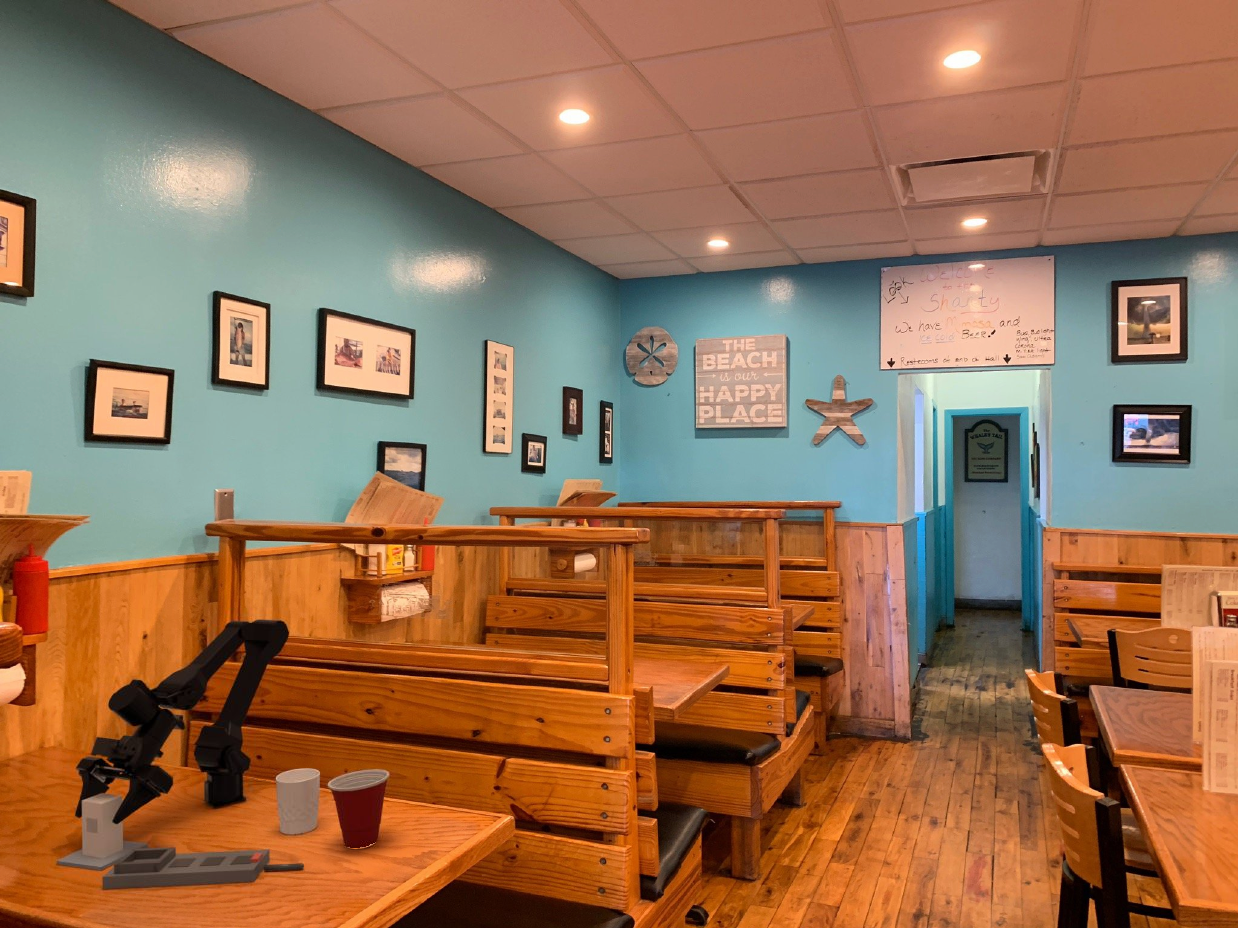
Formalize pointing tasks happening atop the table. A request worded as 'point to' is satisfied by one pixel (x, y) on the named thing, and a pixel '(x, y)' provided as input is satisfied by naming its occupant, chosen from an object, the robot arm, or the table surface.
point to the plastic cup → (359, 805)
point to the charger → (101, 826)
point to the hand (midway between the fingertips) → (95, 819)
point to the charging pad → (98, 863)
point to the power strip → (188, 868)
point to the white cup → (298, 800)
